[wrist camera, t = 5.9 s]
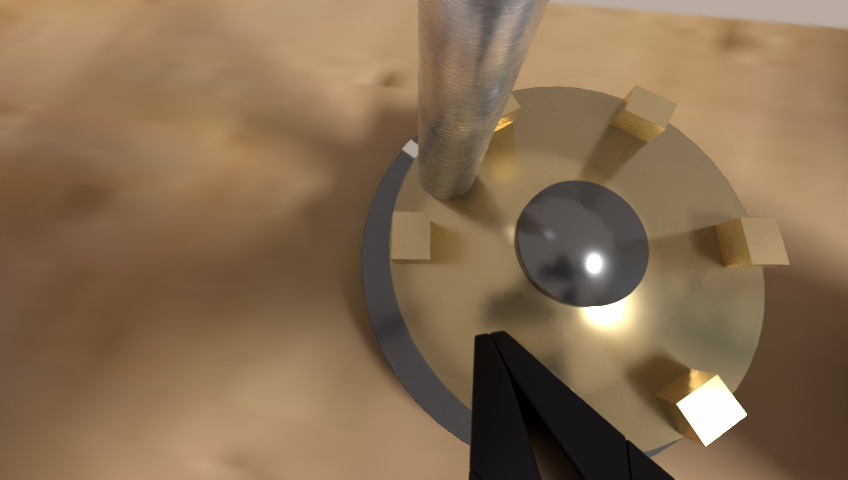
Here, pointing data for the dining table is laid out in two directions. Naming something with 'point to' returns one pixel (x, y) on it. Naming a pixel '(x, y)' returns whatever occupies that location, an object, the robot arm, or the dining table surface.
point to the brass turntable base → (573, 235)
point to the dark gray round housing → (389, 317)
